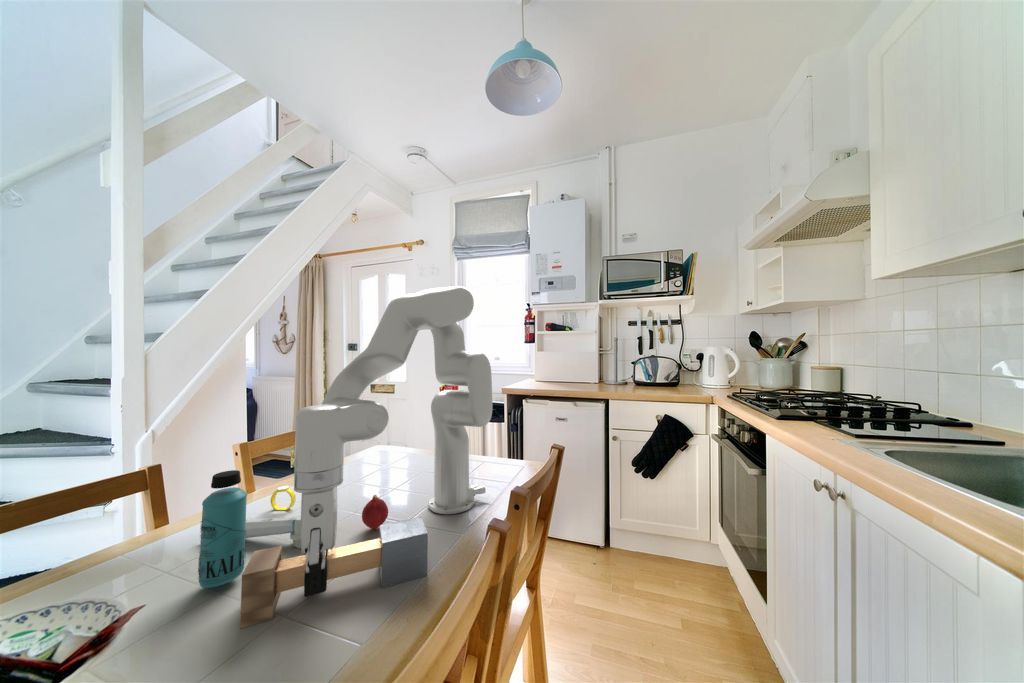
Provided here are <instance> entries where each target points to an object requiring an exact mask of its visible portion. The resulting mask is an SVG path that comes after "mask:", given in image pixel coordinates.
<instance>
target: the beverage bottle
mask: <svg viewBox="0 0 1024 683" xmlns="http://www.w3.org/2000/svg"><path fill="white" fill-rule="evenodd" d="M241 482H242V479H241V471H240V470H236V469H232V470H225V471H220V472H217V473H216V474H213V475H212V477H211V483H210V487H211V489H215V491H213V492H211V493H210V494H209V495H208V496H207V497H206V498H204V500H202V504H201V505H202V511H201V512H202V513H201V514H202V515H201V521H200V525H199V527H200V536H199V539H200V540H199V541H200V544H199V545H200V548H199V550H200V551H199V556H198V569H197V570H198V571H197V574H198V577H197V579H198V584H199V586H200V587H201V588H205V589H209V588H215V587H219V586H222V585H225V584H227V583H229V582H232V581H233V580H235V579H237V578H238V577H239V576H241V575H242V574H243V572H244V570H245V559H246V549H247V545H246V538H245V535H246V533H247V532H246V530H245V526H246V520H247V499H248V498H247V497H248V493H247V491H245V490H244V489H242V488H241V487H236V486H237V485H238V484H240V483H241ZM234 486H235V487H234ZM216 489H218V490H216Z"/></svg>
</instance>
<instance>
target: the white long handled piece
mask: <svg viewBox="0 0 1024 683" xmlns="http://www.w3.org/2000/svg"><path fill="white" fill-rule="evenodd" d="M245 530H246V532H247V533H246V535H245V539H252V538H260V537H269V536H275V535H278V536H279V535H284V534H285V535H286V534H290V535H289V538H290V540H292V545H293V547H296V549H301V515H299V516H297V517H294V516H293V517H277V518H276V517H274V518H254V519H253V518H249V519H247V518H246V526H245Z"/></svg>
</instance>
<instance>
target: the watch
mask: <svg viewBox="0 0 1024 683" xmlns="http://www.w3.org/2000/svg"><path fill="white" fill-rule="evenodd" d="M284 492H286V493H288V495H289V497H290V501H291V502H290V503H289V506H288V507H284V506H282V507H280V506H279V505H278V504H277V501H276V497H277V494H278V493H284ZM295 503H296V494H295V491H294V489H291V488H290V485H284V486H283V485H282V486H280V487H277V489H276V491H274V492H273V493H272V495H271V496H270V505H271V507H272V509H273V510H274V511H276V510H287V511H289V510H290V509H291V508H292V507H293V506H294V505H295Z"/></svg>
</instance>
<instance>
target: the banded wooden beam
mask: <svg viewBox="0 0 1024 683" xmlns="http://www.w3.org/2000/svg"><path fill="white" fill-rule="evenodd" d="M322 547H323V545H320V546H319V548H322ZM319 557H321V559H322V553H319ZM381 564H382V544H381V538H380V537H378V538H373V539H370V540H365V541H361V542H356V543H352V544H347V545H344V546H338V547H334V548H333V549H332V550H330V549H327V550H326V560H325V565H327V581H330V580H333V579H338V578H341V577H346V576H349V575H353V574H356V573H360V572H364V571H365V572H366V571H369V570H372V569H376V568H379V567H381ZM305 570H306V555H303V554H301V555H299V556H293V557H290V558H285V559H282V560H279V561H278V563H277V566H276V569H275V588H274V594H275V593H279V592H281V593H283V592H286V591H290V590H294V589H298V588H301V587H302V588H303V587H304V577H305Z"/></svg>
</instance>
